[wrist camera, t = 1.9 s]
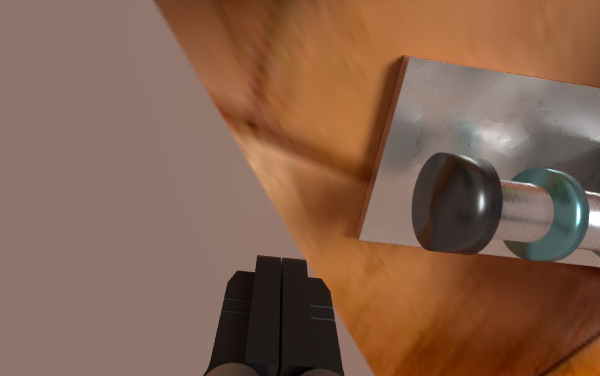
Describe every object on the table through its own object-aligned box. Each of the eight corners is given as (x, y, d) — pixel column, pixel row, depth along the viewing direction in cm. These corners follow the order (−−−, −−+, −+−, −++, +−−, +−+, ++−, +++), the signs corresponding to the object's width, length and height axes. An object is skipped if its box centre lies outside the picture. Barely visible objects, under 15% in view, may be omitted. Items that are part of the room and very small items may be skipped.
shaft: (716, 180, 21) (839, 226, 16) (663, 248, 23) (758, 306, 18) (430, 139, 19) (476, 177, 14) (404, 217, 21) (436, 272, 17)
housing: (761, 114, 23) (1046, 172, 14) (647, 264, 29) (801, 370, 20) (403, 54, 21) (486, 80, 12) (356, 231, 26) (388, 334, 18)
